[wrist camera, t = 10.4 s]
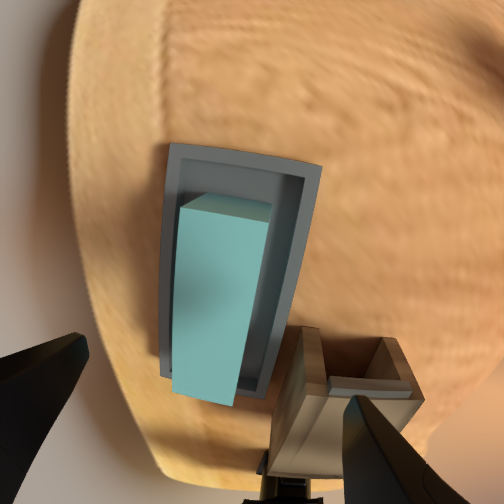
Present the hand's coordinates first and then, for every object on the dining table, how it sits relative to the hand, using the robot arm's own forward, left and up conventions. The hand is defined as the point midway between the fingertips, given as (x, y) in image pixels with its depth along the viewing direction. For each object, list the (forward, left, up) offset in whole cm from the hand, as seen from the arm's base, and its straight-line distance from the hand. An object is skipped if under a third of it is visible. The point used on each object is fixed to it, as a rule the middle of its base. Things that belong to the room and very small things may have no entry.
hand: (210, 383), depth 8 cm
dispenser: (-10, -9, -12) cm, 18 cm away
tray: (-2, +1, -12) cm, 12 cm away
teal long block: (-2, +1, -11) cm, 11 cm away
